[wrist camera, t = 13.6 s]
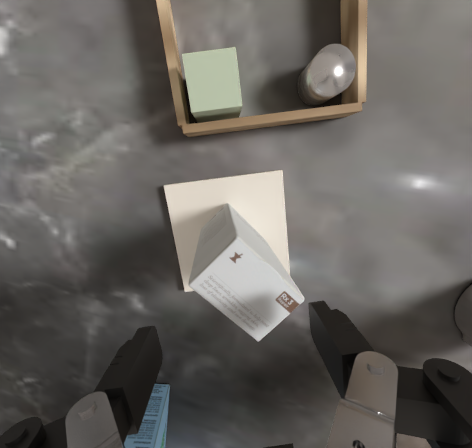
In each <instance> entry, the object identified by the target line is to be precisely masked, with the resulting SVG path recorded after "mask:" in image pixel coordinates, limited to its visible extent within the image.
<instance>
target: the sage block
mask: <svg viewBox="0 0 472 448" xmlns="http://www.w3.org/2000/svg"><path fill="white" fill-rule="evenodd" d="M182 58H183V65H184V71H185V77H186V83H187V89H188V95H189V101H190V107H191V113H192V114H193V116H194V117H195V119H196V120H197V122H198V123H201V122H209V121H216V120H224V119H231V118H239V115H240V112H241V109H242V99H241V90H240V81H239V72H238V63H237V54H236V47H232V48H225V49H217V50H209V51H202V52H194V53H186V54H182Z"/></svg>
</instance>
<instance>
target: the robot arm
mask: <svg viewBox="0 0 472 448" xmlns="http://www.w3.org/2000/svg"><path fill="white" fill-rule="evenodd" d="M309 317H310V328H311V334H312V338H313V340H314V343H315V345H316V347H317V349H318V351H319V353H320V355H321V357H322V359H323V361H324V363H325V365H326V367H327V369H328V371H329V373H330V375H331V378H332V380H333V382H334V384H335V386H336V388H337V390H338V392H339V394H340V396H341V399H340V401H339V404H338V407H337V411H336V414H335V418H334V421H333V425H332V429H331V432H330V436H329V439H328V443H327V446H326V448H396V443H397V433H400V434H405V435H410V436H415V437H420V438H425V439H426V440H427V441H428V443H429V444H430V446H431V447H432V448H472V374H471V373H470V372H469V371H468V370H466V369H465V368H463V367H462V366H460V365H458V364H456V363H454V362H451V361H449V360H445V359H439V358H432V359H428V360H426V361H425V362H424V364H423V369H415V368H407V367H400V366H397V365H395V363H394V362H393V361H392V360H391V359H389V358H388V357H386V356H385V355H383V354H380V353H377V352H375V351H374V350H373V348H372V347H371V346H370V345H369V343H368V342H367V341H366V340H365V338H364V337H363V336H362V334H361V333H360V332H359V331H358V330H357V329H356V327H355V326H354V324H353V323H352V322H351V321H350V319H349V318H348V317H347V316H346V315H345V314H344V313H342V312H341V311H339V310H337V309H334V310H330V308H329V307H328V305H327V304H326V303H325V301H317V302H311V303H309ZM455 322H456V324H457V326H458V328H459V329H460V330H461V332H462V333H463V340H464V341H465V342H466V343H468V344H469V345H470V346H472V285H470V286H469V287H468V288H467V289H466V290H465V291H464V293H463V294H462V295H461V297H460V298H459V300H458V302H457V305H456V308H455ZM161 364H162V349H161V345H160V342H159V338H158V334H157V330H156V328H155V326H149V327H142V328H138V330H137V331H136V333H135V335H134V337H133V339H132V340H128V341H127V342H126V343H125V344H124V345H123V346H122V347H121V348H120V349H119V350H118V352H117V354H116V355H115V358H114V359H113V360H112V362H111V364H110V366H109V367H108V369H107V370H106V372H105V374H104V375H103V377H102V379H101V380H100V382H99V384H98V385H97V387H96V389H95V391H94V392H93V393H91V394H89V395H87V396H85V397H83V398H82V399H80V400H79V401H78V402H77V403H76V404H75V405H74V406H73V407H72V408H71V409H70V411H69V412H68V414H67V416H66V417H64V418H61V419H59V420H57V421H54V422H52V423H50V424H47V425H45V426H43V424H42V422H41V419H40V418H38V417H31V418H28V419H25V420H23V421H21V422H19V423H17V424H16V425H14V426H13V427H11V428H10V429H9V430H7V431H6V432H5V433H4V434H3V435H2V436H1V437H0V448H125V446H124V442H125V440H126V437H127V435H132V434H138V432H139V429H140V426H141V423H142V420H143V417H144V414H145V411H146V408H147V405H148V402H149V399H150V397H151V394H152V391H153V388H154V385H155V382H156V379H157V376H158V373H159V370H160V367H161ZM265 448H293V443H292V444H285V445H279V446H272V447H265Z"/></svg>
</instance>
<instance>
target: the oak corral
mask: <svg viewBox="0 0 472 448" xmlns="http://www.w3.org/2000/svg"><path fill="white" fill-rule="evenodd" d="M156 3H157V8H158V14H159V20H160V26H161V31H162V37H163V43H164V49H165V54H166V60H167V66H168V72H169V77H170V83H171V89H172V95H173V100H174V106H175V112H176V117H177V123H178V126H179V127H180V128H182V129H183V134H185V135H186V136H188V137H194V136H201V135H209V134H217V133H225V132H233V131H241V130H248V129H256V128H264V127H272V126H280V125H287V124H295V123H303V122H311V121H319V120H326V119H334V118H342V117H347V116H350V115H352V114H355V113H357V112H360V111H362V103H364V102H366V63H367V0H341V45H343V46H345V47H347V48H348V49H349V50H350V51H351V52H352V54H353V56H354V58H355V63H356V71H355V76H354V78H353V81H352V82H351V84H350V85H349V86H348V88H346V89H345V90H344V91H342V105H335V106H327V107H320V108H312V109H304V110H296V111H288V112H280V113H272V114H265V115H257V116H249V117H241V118H233V119H225V120H218V121H210V122H202V123H194V124H190V121H189V114H188V108H187V102H186V96H185V90H184V84H183V77H182V71H181V65H180V59H179V53H178V47H177V40H176V34H175V28H174V22H173V16H172V10H171V3H170V0H156Z"/></svg>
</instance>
